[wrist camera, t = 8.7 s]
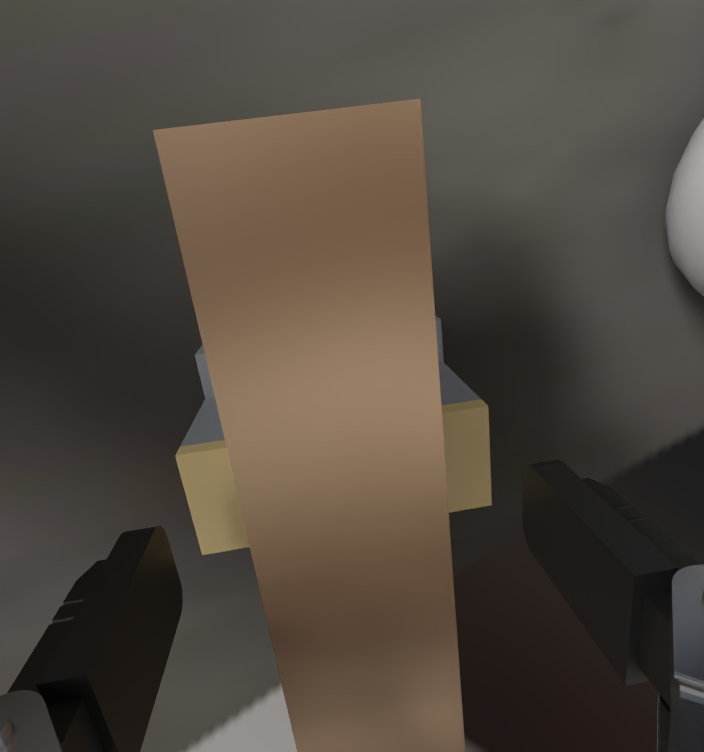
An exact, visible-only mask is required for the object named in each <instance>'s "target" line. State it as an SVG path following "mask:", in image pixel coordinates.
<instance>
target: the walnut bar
mask: <svg viewBox="0 0 704 752" xmlns="http://www.w3.org/2000/svg"><path fill="white" fill-rule="evenodd" d="M153 133H154V137H155V142H156V146H157V150H158V155H159V159H160V163H161V167H162V172H163V176H164V180H165V185H166V189H167V193H168V198H169V202H170V206H171V210H172V215H173V219H174V223H175V228H176V232H177V236H178V241H179V245H180V249H181V253H182V258H183V262H184V266H185V271H186V275H187V279H188V284H189V288H190V292H191V296H192V301H193V305H194V309H195V314H196V318H197V322H198V327H199V331H200V335H201V339H202V344H203V348H204V352H205V357H206V361H207V365H208V370H209V374H210V378H211V382H212V387H213V391H214V395H215V400H216V404H217V408H218V412H219V417H220V421H221V425H222V430H223V434H224V438H225V443H226V447H227V451H228V455H229V460H230V464H231V468H232V473H233V477H234V481H235V486H236V490H237V494H238V498H239V503H240V507H241V511H242V516H243V520H244V524H245V529H246V533H247V537H248V541H249V546H250V550H251V554H252V559H253V563H254V567H255V572H256V576H257V580H258V584H259V589H260V593H261V597H262V602H263V606H264V610H265V615H266V619H267V623H268V627H269V632H270V636H271V640H272V645H273V649H274V653H275V658H276V662H277V666H278V670H279V675H280V679H281V683H282V688H283V692H284V696H285V700H286V705H287V708H288V713H289V718H290V722H291V726H292V731H293V735H294V739H295V743H296V748H297V752H465V743H464V728H463V714H462V700H461V686H460V685H461V684H460V671H459V670H460V669H459V655H458V640H457V627H456V612H455V597H454V582H453V567H452V553H451V538H450V524H449V509H448V495H447V480H446V465H445V451H444V436H443V422H442V407H441V393H440V378H439V363H438V349H437V334H436V320H435V305H434V291H433V276H432V262H431V247H430V232H429V218H428V203H427V189H426V174H425V160H424V145H423V130H422V116H421V101H420V99H414V100H405V101H397V102H388V103H380V104H371V105H363V106H354V107H345V108H337V109H328V110H320V111H311V112H303V113H294V114H286V115H277V116H269V117H260V118H252V119H243V120H235V121H226V122H217V123H209V124H200V125H192V126H183V127H175V128H166V129H158V130H153Z"/></svg>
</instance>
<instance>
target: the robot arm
mask: <svg viewBox="0 0 704 752" xmlns="http://www.w3.org/2000/svg"><path fill="white" fill-rule="evenodd" d="M522 488H523V529H524V534H525V538H526V541H527V543H528V546H529V548H530V550H531V552H532V553H533V555H534V556H535V558H536V559H537V561H538V562H539V564H540V565H541V566H542V568H543V569H544V571H545V572H546V573H547V575H548V576H549V578H550V579H551V580H552V582H553V583H554V585H555V586H556V588H557V589H558V590H559V592H560V593H561V595H562V596H563V598H564V599H565V601H566V602H567V603H568V605H569V606H570V608H571V609H572V610H573V612H574V613H575V615H576V616H577V617H578V619H579V620H580V622H581V623H582V625H583V626H584V628H585V629H586V630H587V632H588V633H589V635H590V636H591V638H592V639H593V640H594V642H595V643H596V645H597V646H598V647H599V649H600V650H601V652H602V653H603V654H604V656H605V657H606V659H607V660H608V662H609V663H610V665H611V666H612V667H613V669H614V670H615V672H616V673H617V674H618V676H619V677H620V679H621V680H622V682H623V683H624V685H625V686H628V685H633V684H637V683H643V682H648V681H650V682H651V683H652V685H653V686H654V687H655V688H656V690H657V691H658V692H659V700H658V735H657V738H658V739H657V740H658V741H657V752H704V565H700V564H699V563H698V562H697V561H696V560H695V559H693V558H692V557H691V556H690V555H689V554H687V552H685V551H684V550H683V549H682V548H681V547H680V546H678V545H677V544H676V543H675V542H674V541H673V540H671V539H670V538H669V537H668V536H667V535H666V534H664V533H663V532H662V531H661V530H660V529H659V528H657V527H656V526H655V525H654V524H652V522H650V521H649V520H645V518H644V516H643V515H642V514H641V513H640V512H639V511H638V510H636V509H635V508H634V507H630V504H629V503H628V502H627V501H626V500H625V499H623V498H622V497H621V496H620V495H619V494H618V493H616V492H615V491H614V490H613V489H611V488H609V487H607V486H605V485H603V484H601V483H598V482H596V481H594V480H592V479H590V478H586V479H581V478H580V477H579V476H578V475H577V474H576V473H574V472H573V471H572V470H571V469H570V468H569V467H568V466H567V465H566V464H565V463H563V462H562V461H560V460H555V461H549V462H543V463H537V464H531V465H526V466H525V467H524V469H523V474H522ZM181 611H182V587H181V582H180V579H179V575H178V572H177V569H176V565H175V562H174V559H173V555H172V552H171V549H170V545H169V542H168V539H167V535H166V533H165V531H164V529H163V528H162V527H161V526H157V527H151V528H145V529H139V530H133V531H127V532H124V533H122V534H121V535H120V537H119V539H118V540H117V542H116V544H115V546H114V547H113V549H112V551H111V553H110V555H109V556H108V558H107V559H106V560H101V561H97V562H96V563H95V564H94V565H93V566H92V567H91V568H90V569H89V570H88V571H86V572H85V573H84V574H83V575H82V576H81V577H80V578H79V579H78V580H77V581H76V582H75V584H74V586H73V587H72V589H71V590H70V592H69V594H68V595H67V597H66V599H65V600H64V605H63V606H61V607H60V608H59V610H58V612H57V613H56V615H55V616H54V618H53V620H52V621H53V622H52V624H51V625H49V626H48V628H47V629H46V631H45V633H44V634H43V636H42V637H41V639H40V641H39V642H38V644H37V646H36V647H35V649H34V650H33V652H32V654H31V655H30V657H29V659H28V660H27V662H26V663H25V665H24V667H23V668H22V670H21V672H20V673H19V675H18V676H17V678H16V680H15V681H14V683H13V685H12V686H11V688H10V689H9V691H8V693H7V694H4V695H1V696H0V752H140V750H141V746H142V743H143V740H144V736H145V733H146V730H147V726H148V723H149V720H150V716H151V713H152V710H153V706H154V703H155V700H156V696H157V693H158V690H159V686H160V683H161V679H162V676H163V673H164V669H165V666H166V663H167V659H168V656H169V653H170V649H171V646H172V643H173V639H174V636H175V633H176V629H177V626H178V623H179V619H180V616H181Z"/></svg>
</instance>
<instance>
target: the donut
mask: <svg viewBox="0 0 704 752" xmlns="http://www.w3.org/2000/svg"><path fill="white" fill-rule="evenodd" d="M665 226H666V232H667V239H668V246H669V252H670V254H671V257H672V259H673V262H674V263H675V265H676V266H677V267H678V268H679V270H680V271H681V272H682V274H683V275H684V276H685V277H686V279H687V280H688V281H689V282H690V284H691V285H692V286H693V287H694V289H696V290H697V291H698V292H699V293H700V294H701V295H703V296H704V118H703V119H702V121H701V122H700V124H699V125H698V127H697V128H696V130H695V131H694V133H693V134H692V136H691V138H690V140H689V143H688V145H687V147H686V149H685V151H684V153H683V155H682V157H681V159H680V162H679V164H678V166H677V168H676V170H675V172H674V175H673V180H672V184H671V189H670V193H669V198H668V203H667V207H666V214H665Z"/></svg>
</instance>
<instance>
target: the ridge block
mask: <svg viewBox="0 0 704 752" xmlns="http://www.w3.org/2000/svg"><path fill="white" fill-rule="evenodd" d="M435 320H436V334H437V349H438V363H439V378H440V393H441V407H442V422H443V436H444V451H445V465H446V480H447V495H448V509H449V513H450V512H456V511H462V510H467V509H473V508H479V507H485V506H491V505H492V496H491V467H490V438H489V409H488V405H487V404H486V403H485V402H484V401H483V400H482V399H481V398H480V397H479V396H478V395H477V394H476V393H475V392H473V391H472V390H471V389H470V388H469V387H468V386H467V385H466V384H465V383H464V382H463V381H462V380H461V379H460V378H459V377H458V376H457V375H456V374H455V373H454V372H453V371H452V370H451V369H450V368H449V367H448V366H447V365H446V364H445V363H444V358H443V343H442V327H441V319H440V318H439V317H437V316H436V315H435ZM195 359H196V363H197V367H198V371H199V375H200V379H201V384H202V388H203V392H204V396H205V400H204V402H203V404H202V406H201V408H200V409H199V411H198V413H197V415H196V417H195V419H194V421H193V423H192V425H191V427H190V428H189V430H188V432H187V434H186V436H185V438H184V440H183V442H182V444H181V446H180V448H179V449H178V451H177V453H176V455H175V457H176V461H177V465H178V468H179V472H180V476H181V479H182V483H183V487H184V490H185V494H186V498H187V501H188V505H189V509H190V512H191V516H192V520H193V523H194V527H195V531H196V534H197V538H198V542H199V545H200V549H201V553H202V555H206V554H212V553H218V552H223V551H229V550H235V549H241V548H247V547H250V546H249V541H248V537H247V533H246V529H245V524H244V520H243V516H242V511H241V507H240V503H239V498H238V494H237V490H236V486H235V481H234V477H233V473H232V468H231V464H230V460H229V455H228V451H227V447H226V443H225V438H224V434H223V430H222V425H221V421H220V417H219V412H218V408H217V404H216V400H215V395H214V391H213V387H212V382H211V378H210V374H209V370H208V365H207V361H206V357H205V352H204V348H203V345H202V346H201V347H200V349H199V350H198V351H197V353H196V354H195Z"/></svg>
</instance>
